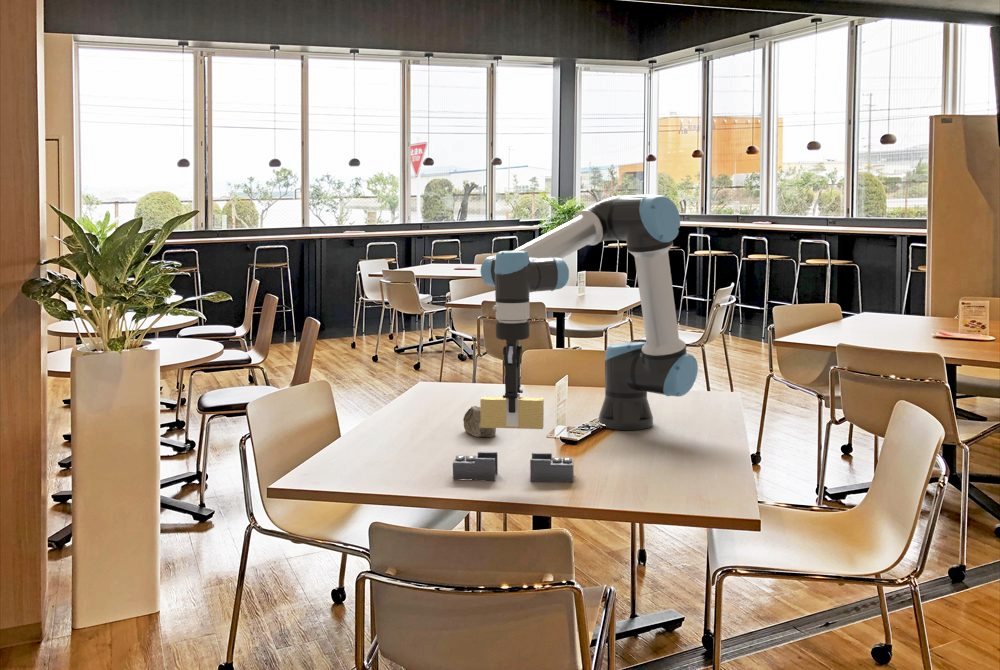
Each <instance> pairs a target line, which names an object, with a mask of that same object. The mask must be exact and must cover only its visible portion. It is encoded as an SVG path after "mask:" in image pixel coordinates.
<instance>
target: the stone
mask: <svg viewBox="0 0 1000 670" xmlns="http://www.w3.org/2000/svg"><path fill="white" fill-rule="evenodd" d="M462 421H463V428H464V430H465V431H466V432H467V433H468V434H470V435H472V436H474V437H475V438H483V437H487V438H492V437H493V438H494V437H496V434H497V428H481V407H480V406H477V405H475V406H470V408H468V410H467V411H466V412H465V413H464V416H463V420H462Z"/></svg>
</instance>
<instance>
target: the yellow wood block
mask: <svg viewBox="0 0 1000 670" xmlns="http://www.w3.org/2000/svg"><path fill="white" fill-rule="evenodd" d="M544 400H545V398H544V397H526V396H525V397H521V396H520V397H518V407H519V426H518V427H516V426H506V398H503V396H483V395H482V396H481V398H480V406H479V407H481V428H496V429H517V430H518V429H520V430H521V429H522V430H523V429H525V430H526V429H528V430H543V429H544V422H545V421H544V417H545V416H544V415H545V413H544V412H545V411H544V408H545V406H544V403H545V402H544Z"/></svg>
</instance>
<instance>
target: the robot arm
mask: <svg viewBox="0 0 1000 670" xmlns="http://www.w3.org/2000/svg"><path fill="white" fill-rule="evenodd" d="M676 205H677V204H675V202H674V201H673V200H671V199H670V198H669V197H667V196H665V195H661V194H660V195H659V194H652V193H650V194H631V195H628V194H627V195H624V194H623V195H613V196H611V197H608V198H607V197H606V198H604V199H603V200H600V201H597V202H596V203H593V204H592V205H589V206H587V207H585V208H583V209H581V210H580V211H578V212H577V213H576V214H575V215H574V217H573V219H571V220H569V221H567V222H565V223H563V224H561V225H559V226H557V227H555V228H554V229H552V230H550V231H548V232H545V233H543V234H542V235H540V236H537V237H536V238H534V239H532V240H530V241H528V242H526V243H525V244H523V245H521V246H519V247H518V248H515V249H513V250H502V251H498V252H497V253H496V254H495V255H489V256H487V257H486V258H485V259H484V260H483V262H482V263H481V267H480V276H481V279H482V282H483V283H485V284H486V285H487V286H488V287H494V288H495V289H494V290H495V292H494V293H495V294H494V296H495V298H494V299H495V305H493V306H492V310H493V311H495V320H498V321H496V322H495V338H496V339H498V340H501V341H502V340H503V341H504V340H505V342H506V343H505V344H506V345H504V347H503V348H502V354H503V360H504V361H503V366H504V382H505V383H504V387H505V389H504V390H505V392H504V394H502V397H503V398H506V426H516V427H518V426H519V407H518V397H521V394H523V393H524V389H521V386H522V385H521V364H522V352H523V346H522V345H520V341H521V340H526V339H529V337H530V322H529V321H528V320H529V319H530V315H531V314H530V312H531V311H530V304H531V303H530V293H534V292H535V293H536V292H545V291H548V292H549V291H551V292H553V291H556V290H560V289H563V288H565V286H566V285H567V283H568V281H569V280H570V279H569V278H570V273H569V272H570V271H569V270H570V269H569V266H568V264H567V262H566V261H565V260H564V259H563V258H565V257H567V256H569V255H571V254H573V253H575V252H577V251H578V250H580V249H582V248H584V247H586V246H596V245H598V244H599V243H602V242H605V241H623V242H624V241H626V242H625V243H626V246H627V247H626V249H627V252H628V253H630V254H631V255H632V256H633V257H634V262H635V271H636V278H637V285H638V291H639V298H640V305H641V307H640V308H641V313H642V319H643V320H642V321H643V329H644V335H645V341H638V342H637V341H633V342H622V343H614V344H611V345H609V346H607V348H606V350H605V358H604V375H605V376H604V382H605V383H604V391H605V392H604V399H603V402H602V405H601V408H600V411H599V415H598V423H599V422H600V423H602V424H605V425H606V428H605V429H610V430H616V431H617V430H619V431H639V430H645V429H649V428H651V427H653V425H654V416H653V413H652V409H651V406H650V403H649V400H648V393H651V394H652V393H653V394H657V395H663V396H665V397H682V396H684V395H686V394H688V393H689V392H690V390H691V389H692V388H693V386H694V383H695V382H696V380H697V377H698V369H699V365H698V360H697V358H695V356H694V355H693V354H690V353H687V345H686V342H685V341H684V340H682V338H680V336H679V327H678V322H677V321H678V320H677V314H676V313H677V312H676V304H675V297H674V289H673V280H672V273H671V265H670V256H669V251H670V249H671V248H672V246H674V241H673V240H675V239H676V238H677V237H678V236H679V232H680V230H679V229H680V227H681V217H680V212H679V209H678V207H677V206H676Z"/></svg>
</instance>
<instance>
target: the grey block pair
mask: <svg viewBox="0 0 1000 670" xmlns="http://www.w3.org/2000/svg"><path fill="white" fill-rule="evenodd" d="M498 459H499V458H498V451H477V455H463V454H460V455H456V456H455V457H454V459H453V461H452V480H453V479H472V480H471V481H477V480H491V481H490V482H495V481H496V475H497V474H498V473H499V471H498V469H499V467H498V465H499V463H498ZM529 461H530V462H529V463H530V467H529V470H530V471H529V472H530V473H529V475H530V478H529V481H530V483H532V482H533V483H568V484H569V483H571V484H572V483H574V467H575V466H574V465H575V464H574V461H575V458H574V457H570V456H569V457H568V456H567V457H560V456H559V457H558V456H553V455H552V452H532V453H531V458H530V460H529Z"/></svg>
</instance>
